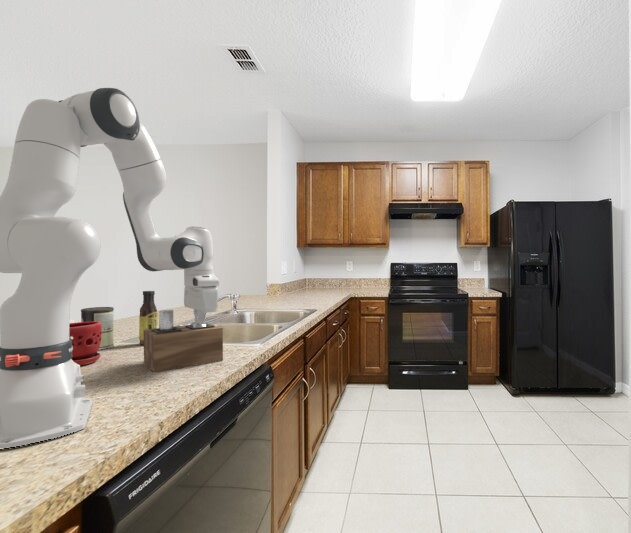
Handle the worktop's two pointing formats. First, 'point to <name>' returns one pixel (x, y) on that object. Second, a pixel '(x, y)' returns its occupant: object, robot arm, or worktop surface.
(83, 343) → the plant pot
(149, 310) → the sauce bottle
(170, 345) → the socket block
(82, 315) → the coffee can
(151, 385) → the worktop surface
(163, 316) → the near peg
